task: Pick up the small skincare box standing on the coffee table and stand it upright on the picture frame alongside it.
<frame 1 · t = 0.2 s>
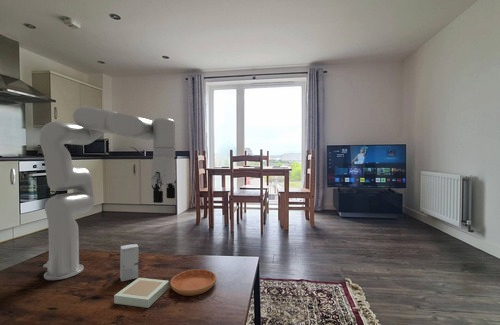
hand: (164, 200, 89), 31 cm above the table, tool pointing down, fingers open, 9 cm apart
picture frame: (143, 295, 82), on the table
saucer: (193, 287, 88), on the table
skincare box: (129, 278, 95), on the table
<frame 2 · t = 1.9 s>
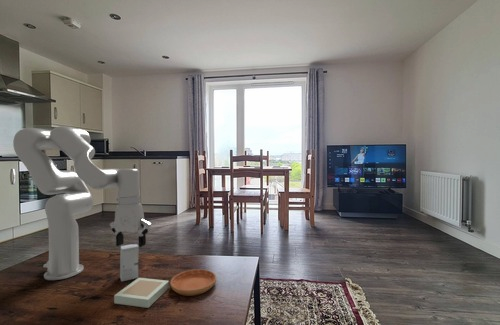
hand: (131, 245, 94), 12 cm above the table, tool pointing down, fingers open, 9 cm apart
nothing on the table moved.
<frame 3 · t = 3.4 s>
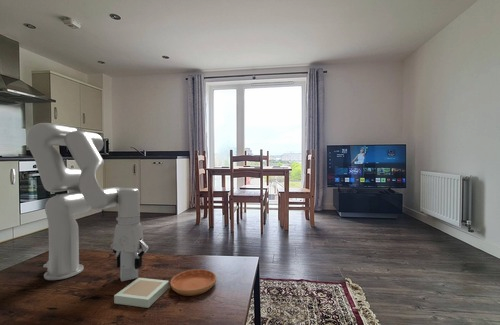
hand: (129, 266, 95), 4 cm above the table, tool pointing down, fingers closed on skincare box, 7 cm apart
skincare box: (129, 278, 95), on the table, touching gripper
everything else where it was.
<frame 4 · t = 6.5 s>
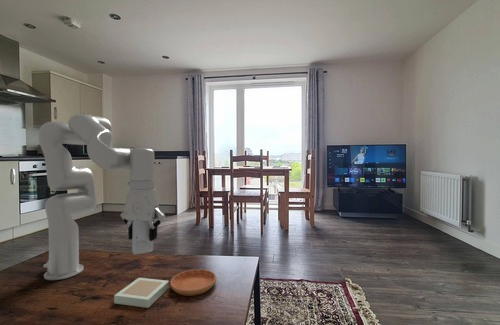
hand: (142, 238, 82), 19 cm above the table, tool pointing down, fingers closed on skincare box, 7 cm apart
skincare box: (142, 251, 82), point 14 cm above the table, touching gripper
everything else where it was.
when the fingers open (8 cm above the table, at t = 9.4 s): skincare box stays where it is, resting on picture frame.
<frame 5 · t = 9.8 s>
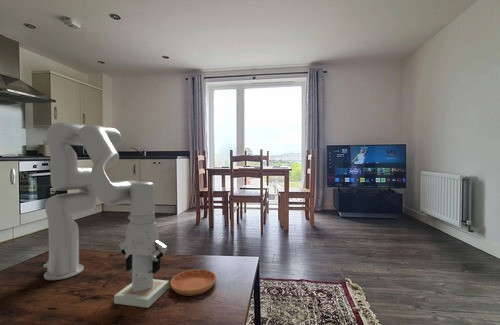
hand: (143, 270, 82), 8 cm above the table, tool pointing down, fingers open, 9 cm apart
skincare box: (142, 287, 82), point 2 cm above the table, touching picture frame
everything else where it was.
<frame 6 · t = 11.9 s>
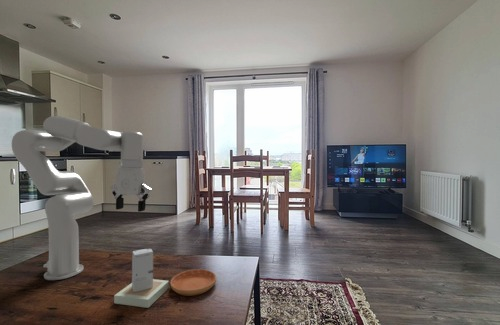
hand: (130, 209, 93), 26 cm above the table, tool pointing down, fingers open, 9 cm apart
nothing on the table moved.
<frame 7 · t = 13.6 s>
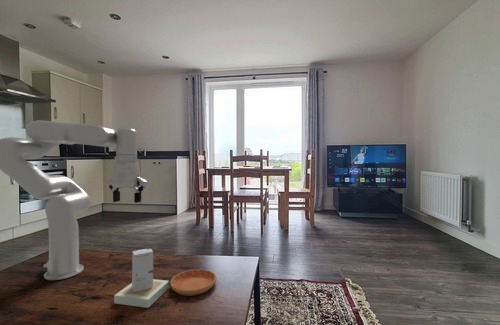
hand: (127, 201, 99), 28 cm above the table, tool pointing down, fingers open, 9 cm apart
nothing on the table moved.
at the end: skincare box inside the target area on the picture frame (0.2 cm from its centre), point 2.3 cm above the picture frame's base; skincare box tilted 0°; the gripper is holding nothing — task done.
